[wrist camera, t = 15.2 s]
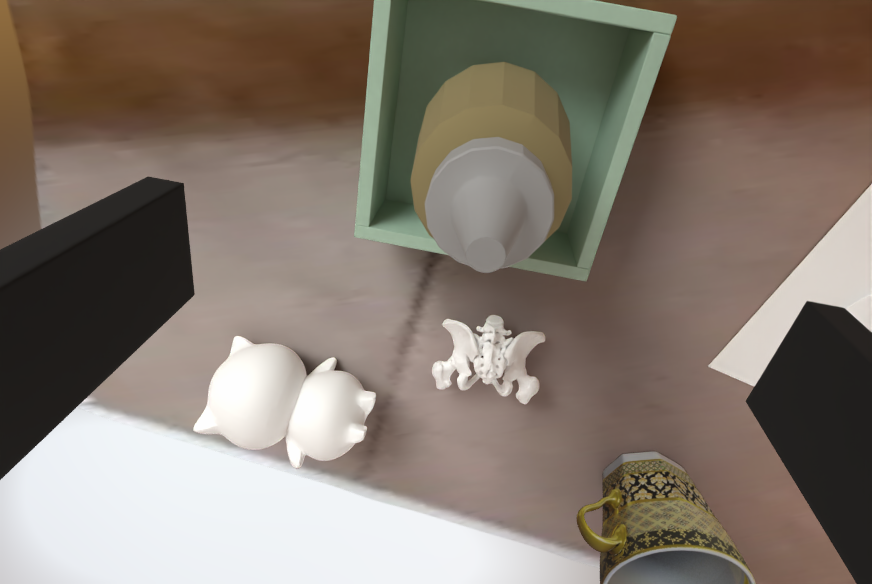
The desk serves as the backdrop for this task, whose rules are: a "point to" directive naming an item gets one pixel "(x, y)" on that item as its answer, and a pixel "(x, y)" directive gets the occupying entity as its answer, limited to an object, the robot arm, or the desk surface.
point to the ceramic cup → (659, 528)
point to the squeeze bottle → (493, 165)
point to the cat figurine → (285, 403)
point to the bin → (528, 48)
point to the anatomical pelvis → (489, 358)
